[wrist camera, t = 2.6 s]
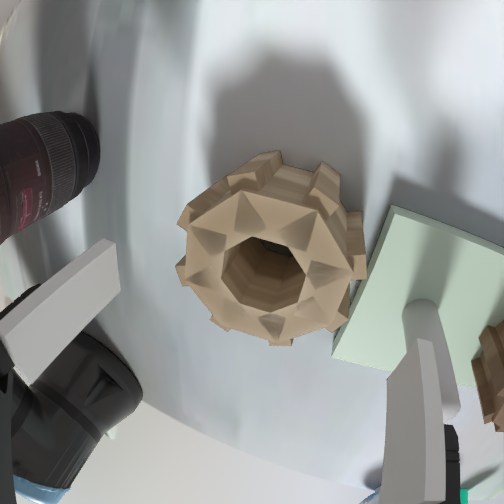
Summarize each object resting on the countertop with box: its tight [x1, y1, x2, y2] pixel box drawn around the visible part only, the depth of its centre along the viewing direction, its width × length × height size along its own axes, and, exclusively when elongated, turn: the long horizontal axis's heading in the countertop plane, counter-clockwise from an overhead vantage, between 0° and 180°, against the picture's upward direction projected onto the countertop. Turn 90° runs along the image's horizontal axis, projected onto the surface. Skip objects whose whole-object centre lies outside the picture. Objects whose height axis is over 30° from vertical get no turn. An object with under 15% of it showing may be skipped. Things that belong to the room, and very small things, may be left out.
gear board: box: [331, 205, 504, 423], centre depth 14 cm, size 21×12×10 cm, turn 80°
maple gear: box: [175, 151, 367, 346], centre depth 17 cm, size 10×10×6 cm
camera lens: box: [0, 111, 99, 245], centre depth 15 cm, size 8×8×15 cm
